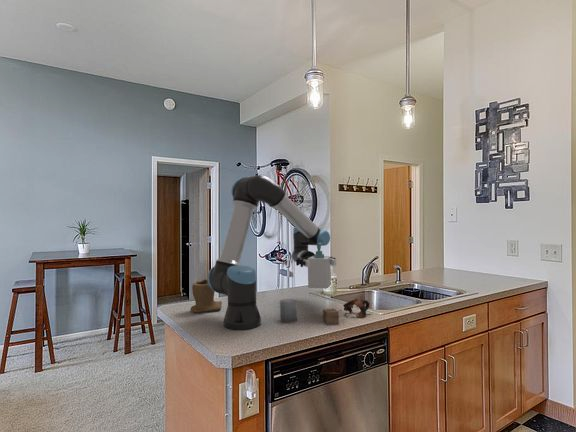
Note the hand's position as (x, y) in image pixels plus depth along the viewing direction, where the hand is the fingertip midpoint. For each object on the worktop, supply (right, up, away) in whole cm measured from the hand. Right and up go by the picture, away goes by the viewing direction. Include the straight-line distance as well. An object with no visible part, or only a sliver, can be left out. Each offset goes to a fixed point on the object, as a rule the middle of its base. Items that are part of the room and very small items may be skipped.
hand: (322, 263), depth 155 cm
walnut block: (+3, -23, -8) cm, 25 cm away
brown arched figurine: (+16, -23, +3) cm, 28 cm away
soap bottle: (-1, -11, +4) cm, 11 cm away
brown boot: (-53, -25, +14) cm, 60 cm away
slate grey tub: (-15, -24, -3) cm, 28 cm away
